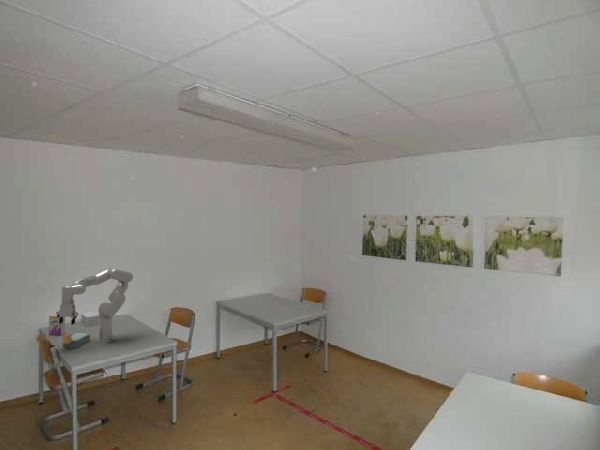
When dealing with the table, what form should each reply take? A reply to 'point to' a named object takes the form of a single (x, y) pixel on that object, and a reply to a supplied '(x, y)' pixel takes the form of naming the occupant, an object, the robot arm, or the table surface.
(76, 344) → the tub
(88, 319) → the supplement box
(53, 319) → the candy bar box
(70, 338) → the tool with wooden handle
